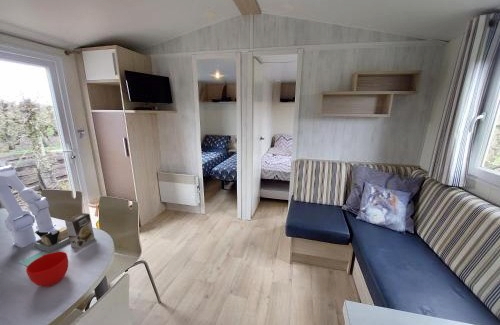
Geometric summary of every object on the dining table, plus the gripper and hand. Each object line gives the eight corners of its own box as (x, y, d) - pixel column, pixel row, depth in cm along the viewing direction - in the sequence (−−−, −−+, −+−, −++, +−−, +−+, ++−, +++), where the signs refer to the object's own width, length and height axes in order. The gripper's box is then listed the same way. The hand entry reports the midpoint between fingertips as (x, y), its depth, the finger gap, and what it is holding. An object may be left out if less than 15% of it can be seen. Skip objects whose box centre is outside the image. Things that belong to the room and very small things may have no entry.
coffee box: (80, 248, 114) (73, 222, 110) (70, 247, 116) (63, 220, 111) (95, 238, 123) (89, 213, 119) (86, 237, 124) (80, 212, 120)
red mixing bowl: (66, 261, 105) (61, 244, 102) (75, 279, 94) (70, 260, 92) (29, 277, 95) (22, 259, 93) (35, 298, 85) (28, 278, 82)
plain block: (56, 240, 121) (53, 230, 119) (65, 235, 125) (63, 226, 124) (61, 241, 119) (58, 232, 118) (70, 237, 124) (68, 228, 122)
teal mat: (18, 263, 104) (18, 262, 104) (41, 251, 112) (41, 251, 112) (29, 268, 101) (29, 267, 101) (52, 256, 109) (51, 255, 109)
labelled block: (43, 246, 116) (40, 236, 114) (53, 241, 120) (50, 232, 118) (48, 248, 114) (45, 238, 112) (58, 243, 118) (55, 233, 117)
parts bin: (34, 247, 116) (33, 242, 115) (63, 233, 128) (62, 228, 128) (50, 253, 111) (48, 248, 110) (79, 237, 124) (78, 233, 123)
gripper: (61, 219, 114) (67, 241, 118) (44, 214, 119) (51, 235, 123) (45, 226, 108) (51, 248, 111) (28, 220, 113) (35, 242, 116)
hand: (50, 242), depth 116 cm, fingers open, 7 cm apart
